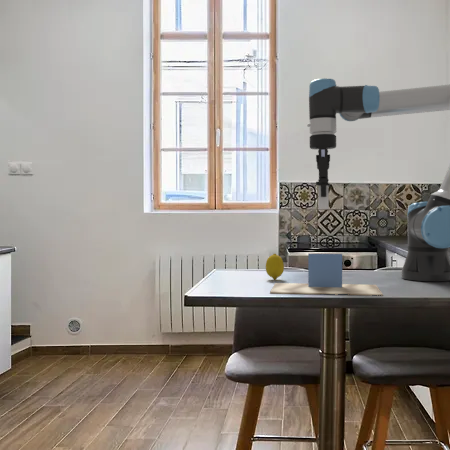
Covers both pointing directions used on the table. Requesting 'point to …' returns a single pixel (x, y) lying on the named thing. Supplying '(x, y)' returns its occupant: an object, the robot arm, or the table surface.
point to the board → (325, 289)
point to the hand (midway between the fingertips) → (323, 209)
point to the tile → (324, 270)
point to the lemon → (274, 266)
